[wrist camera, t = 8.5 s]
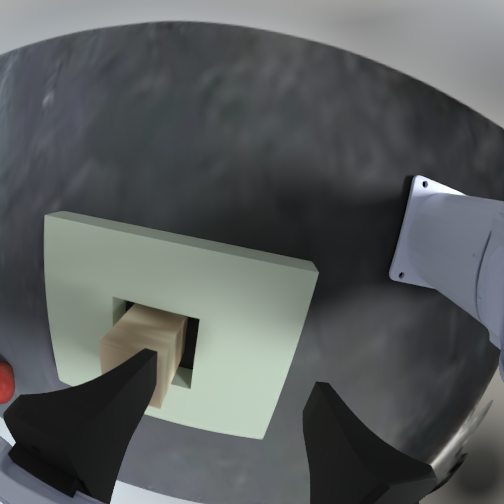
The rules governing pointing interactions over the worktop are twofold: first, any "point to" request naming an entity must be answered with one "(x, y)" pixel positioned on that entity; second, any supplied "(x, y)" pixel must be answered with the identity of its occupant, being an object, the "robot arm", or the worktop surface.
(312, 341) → the worktop surface
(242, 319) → the well board
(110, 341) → the beech block
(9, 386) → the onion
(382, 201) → the worktop surface
